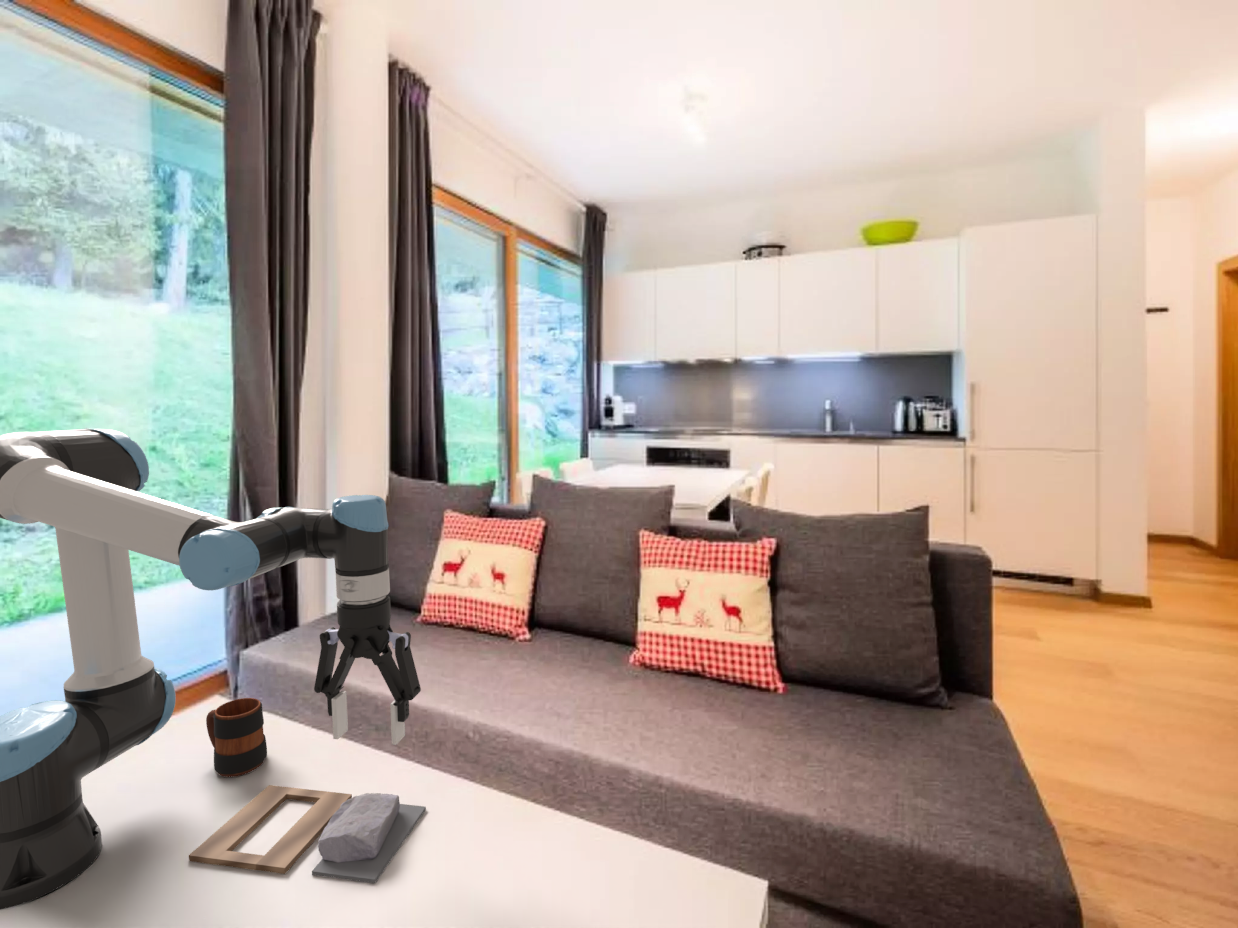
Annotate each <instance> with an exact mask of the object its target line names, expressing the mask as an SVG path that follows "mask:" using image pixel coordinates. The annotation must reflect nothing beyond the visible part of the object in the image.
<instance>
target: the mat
mask: <svg viewBox="0 0 1238 928" xmlns="http://www.w3.org/2000/svg"><path fill="white" fill-rule="evenodd" d="M426 810H427V807H426V806H423V805H422V806H421V805H415V804H405V803H400V808H399V812H398V814H397V817H396V818H395V820H394V823H393V824H392V827H391V829H390V831H389V833H388V835H387V837H386V839H385V841H384V843H383V845H382V847H381V849H380V851H379V853H378V855H377V856H376V857H375V858H374V859H366V860H360V861H347V862H341V863H336V862H333V861H329V860H324V859H323V858H322V859H321V860H320V861H319V862H318V863H317V864H316V866H315V867H314V868H313V869H312V871H311V875H312V876H316V877H325V878H333V879H339V880H345V881H346V880H348V881H356V882H363V883H370V884H376V883H377V881H378V880H379V878H380V877H381V876H382V875H383V873H384V871H385V869H386V868H387V867H388V866H389V864H390V863H391V861H392V860H393V858H394V857H395V856H396V853H397V852H398V851H399V849H400V848H401V846H402V845H403V844H404V842H405V841H406V840H407V838H408V837H409V835H410V834H411V832H412V831H413V829H414V828H415V826H416V825H417V824H418V822H419V820H420V819H421V818H422V817H423V815H424V813H425V812H426Z"/></svg>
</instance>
